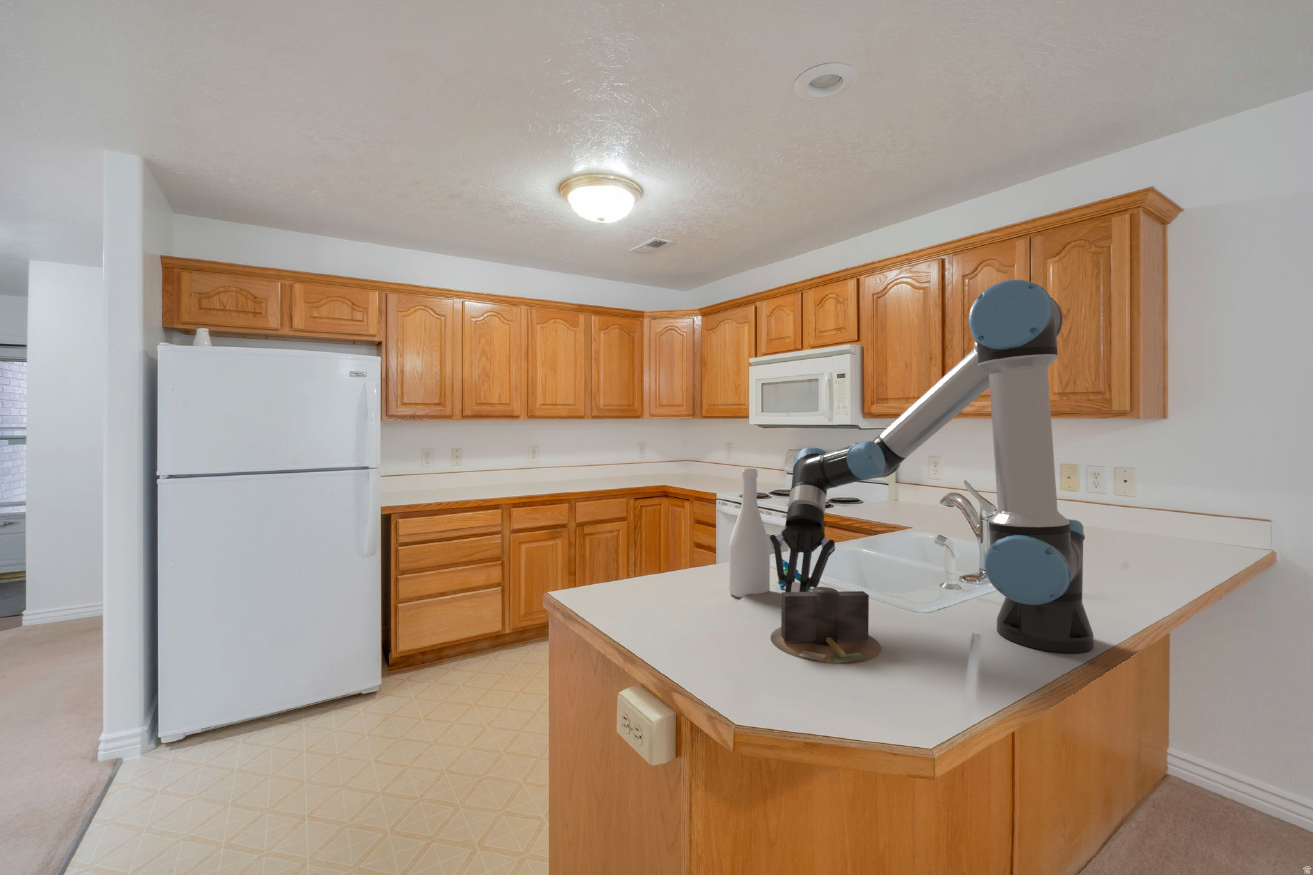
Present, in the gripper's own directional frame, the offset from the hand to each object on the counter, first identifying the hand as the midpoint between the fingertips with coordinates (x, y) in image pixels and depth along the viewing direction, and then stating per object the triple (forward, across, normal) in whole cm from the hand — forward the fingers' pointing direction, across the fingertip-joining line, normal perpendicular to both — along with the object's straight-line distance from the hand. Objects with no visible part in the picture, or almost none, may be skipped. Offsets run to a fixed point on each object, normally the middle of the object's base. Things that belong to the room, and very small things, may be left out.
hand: (792, 617), depth 104 cm
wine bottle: (-15, +14, -23) cm, 31 cm away
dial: (+4, -6, -3) cm, 7 cm away
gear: (-21, +5, -30) cm, 37 cm away
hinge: (+5, -7, 0) cm, 8 cm away
